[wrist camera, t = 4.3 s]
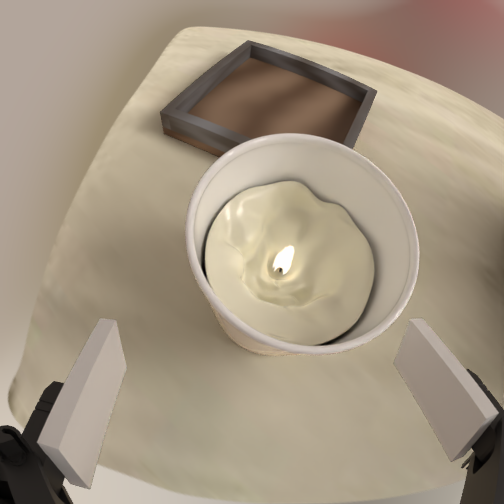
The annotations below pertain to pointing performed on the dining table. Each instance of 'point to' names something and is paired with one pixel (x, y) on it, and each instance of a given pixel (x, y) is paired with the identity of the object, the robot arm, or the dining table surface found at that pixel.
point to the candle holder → (301, 246)
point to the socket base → (266, 101)
